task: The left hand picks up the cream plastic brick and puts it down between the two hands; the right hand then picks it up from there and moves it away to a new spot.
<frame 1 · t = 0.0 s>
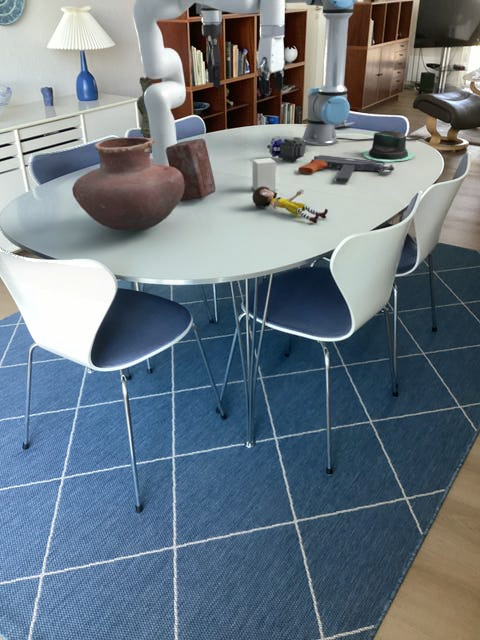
left hand: (271, 91, 179), 31 cm above the table, tool pointing down, fingers open, 9 cm apart
right hand: (214, 84, 219), 28 cm above the table, tool pointing down, fingers open, 13 cm apart
toy: (285, 160, 225), on the table
submachine gun: (344, 174, 206), on the table
brick: (263, 189, 192), on the table
clay pot: (134, 229, 162), on the table
figurine: (287, 213, 171), on the table
camera: (336, 127, 278), on the table
statue: (154, 150, 245), on the table
rough terracotta slab: (158, 193, 191), on the table
dark porkpie hat: (387, 155, 228), on the table
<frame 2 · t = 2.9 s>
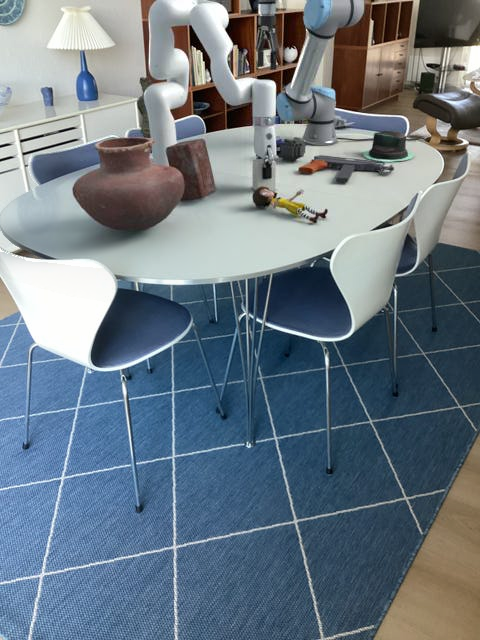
left hand: (263, 175, 190), 5 cm above the table, tool pointing down, fingers closed on brick, 5 cm apart
right hand: (266, 68, 253), 29 cm above the table, tool pointing down, fingers open, 13 cm apart
brick: (263, 189, 192), on the table, touching left hand
everything else where it was.
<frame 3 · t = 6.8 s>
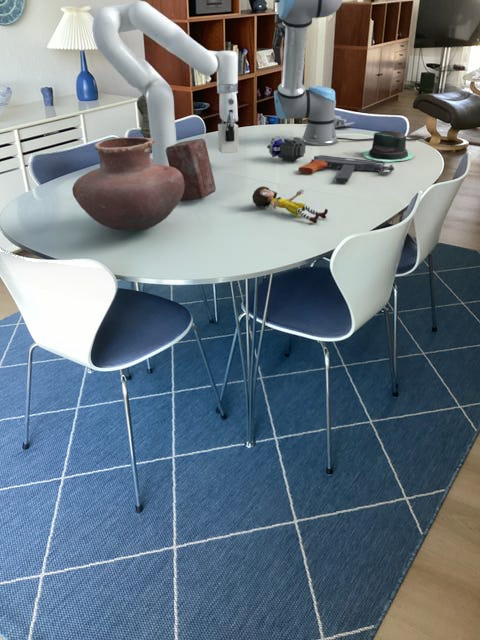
left hand: (227, 138, 211), 11 cm above the table, tool pointing down, fingers closed on brick, 5 cm apart
right hand: (282, 64, 265), 29 cm above the table, tool pointing down, fingers open, 13 cm apart
brick: (228, 151, 214), point 6 cm above the table, touching left hand
everything else where it was.
when the left hand's fingers open (6 cm above the table, at t = 11.0 s): brick stays where it is, on the table.
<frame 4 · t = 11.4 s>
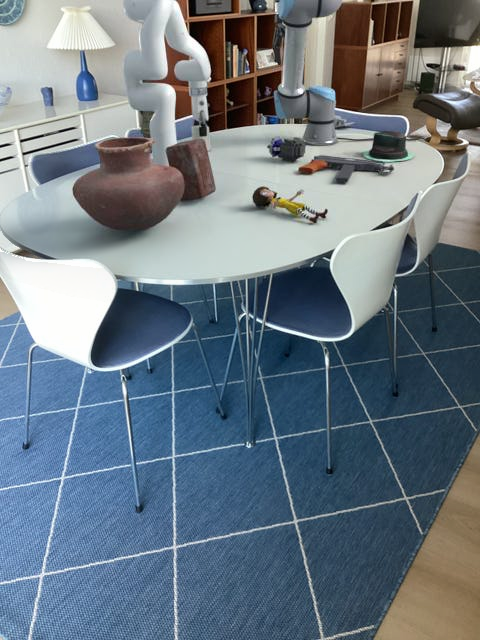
left hand: (200, 134, 240), 7 cm above the table, tool pointing down, fingers open, 9 cm apart
right hand: (282, 64, 265), 29 cm above the table, tool pointing down, fingers open, 13 cm apart
brick: (201, 150, 243), on the table
everything else where it was.
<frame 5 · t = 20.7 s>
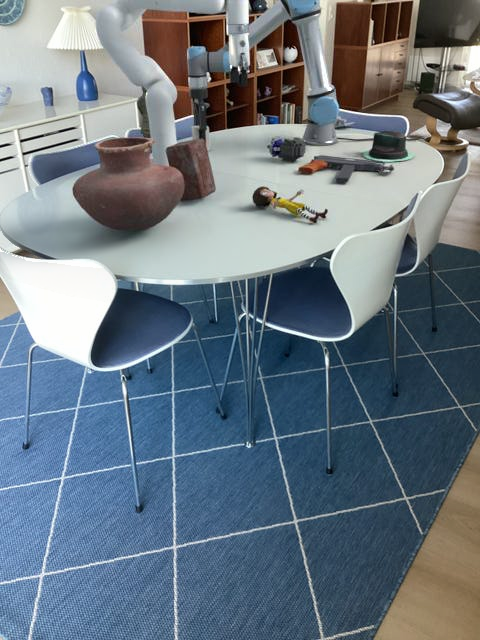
left hand: (238, 84, 196), 31 cm above the table, tool pointing down, fingers open, 9 cm apart
right hand: (201, 144, 242), 2 cm above the table, tool pointing down, fingers closed on brick, 5 cm apart
brick: (201, 149, 243), on the table, touching right hand
everything else where it was.
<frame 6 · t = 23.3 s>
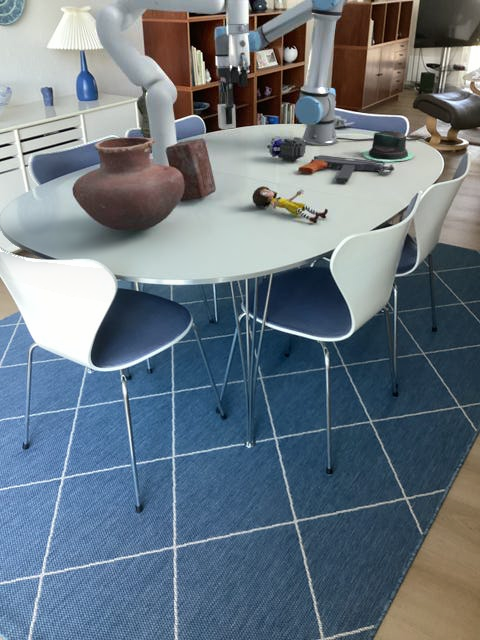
left hand: (238, 84, 196), 31 cm above the table, tool pointing down, fingers open, 9 cm apart
right hand: (227, 122, 251), 8 cm above the table, tool pointing down, fingers closed on brick, 5 cm apart
brick: (227, 127, 252), point 6 cm above the table, touching right hand
everything else where it was.
when the right hand's fingers open (3 cm above the table, at t = 26.2 s): brick drops 1 cm, on the table.
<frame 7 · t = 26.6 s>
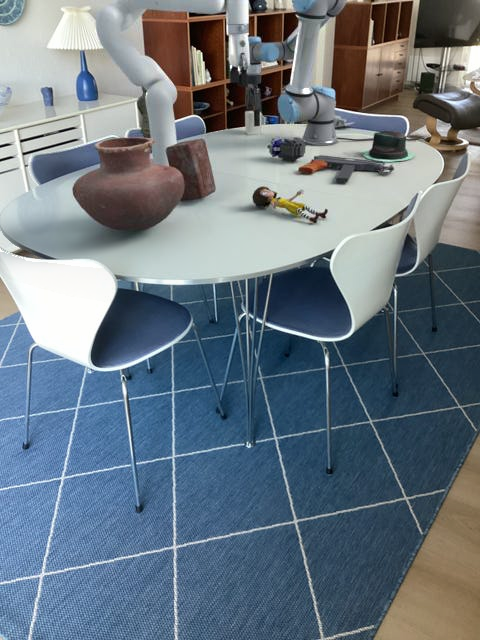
left hand: (238, 84, 196), 31 cm above the table, tool pointing down, fingers open, 9 cm apart
right hand: (253, 124, 268), 4 cm above the table, tool pointing down, fingers open, 10 cm apart
brick: (253, 133, 270), on the table
everything else where it was.
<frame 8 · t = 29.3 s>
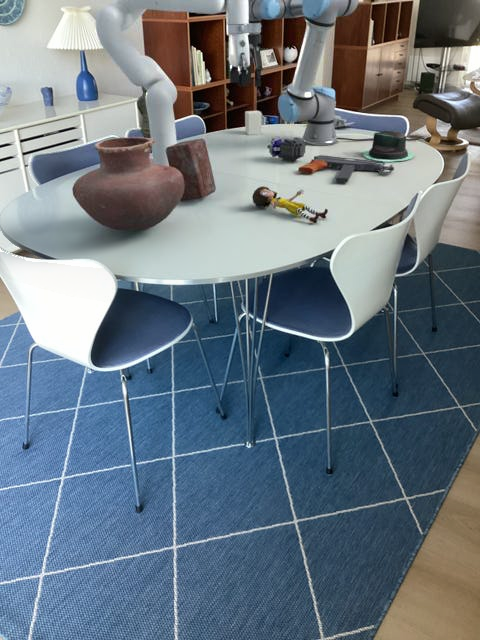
left hand: (238, 84, 196), 31 cm above the table, tool pointing down, fingers open, 9 cm apart
right hand: (253, 84, 259), 22 cm above the table, tool pointing down, fingers open, 13 cm apart
nothing on the table moved.
at the end: brick inside the target area (0.1 cm from its centre), on the table; brick tilted 0°; the two hands never held the brick at the same time; the left hand is holding nothing; the right hand is holding nothing; brick at rest at the end (0.0 cm/s) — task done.
